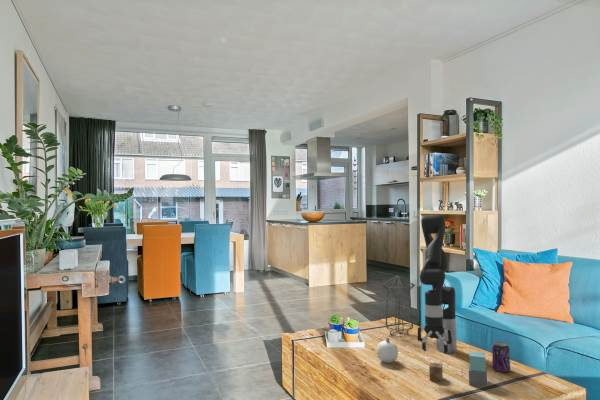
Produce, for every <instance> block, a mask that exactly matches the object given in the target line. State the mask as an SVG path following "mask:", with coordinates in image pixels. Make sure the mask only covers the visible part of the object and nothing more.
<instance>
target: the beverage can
mask: <svg viewBox="0 0 600 400" xmlns="http://www.w3.org/2000/svg"><path fill="white" fill-rule="evenodd" d="M491 355H492V356H491V357H492V369H493V370H495V371H496V372H499V373H507V372H510V371H511V358H510V357H511V356H510V348H509V344H508V343H507V342H504V341H494V342H492V347H491Z"/></svg>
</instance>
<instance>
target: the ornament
mask: <svg viewBox="0 0 600 400" xmlns="http://www.w3.org/2000/svg"><path fill="white" fill-rule="evenodd" d="M398 354H399V349H398V347H397V345H396V343H394V341H392V340H390V338H389V337H386V339H385V340H382V341H380V342H379V343H378V344H377V347H376V355H377V358H378V359H379V360H380V361H381V362H383V363H386V364H390V363H393V362H395V361H396V360H397V358H398V356H399V355H398Z"/></svg>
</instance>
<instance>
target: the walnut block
mask: <svg viewBox="0 0 600 400" xmlns="http://www.w3.org/2000/svg"><path fill="white" fill-rule="evenodd" d="M428 369H429V372H428V373H429V381H432V382H433V381H434V382H441V383H442V382H443V377H444V376H443V375H444V374H443V372H444V371H443V363H440V362H439V363H438V362H437V363H436V362H429V366H428Z"/></svg>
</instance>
